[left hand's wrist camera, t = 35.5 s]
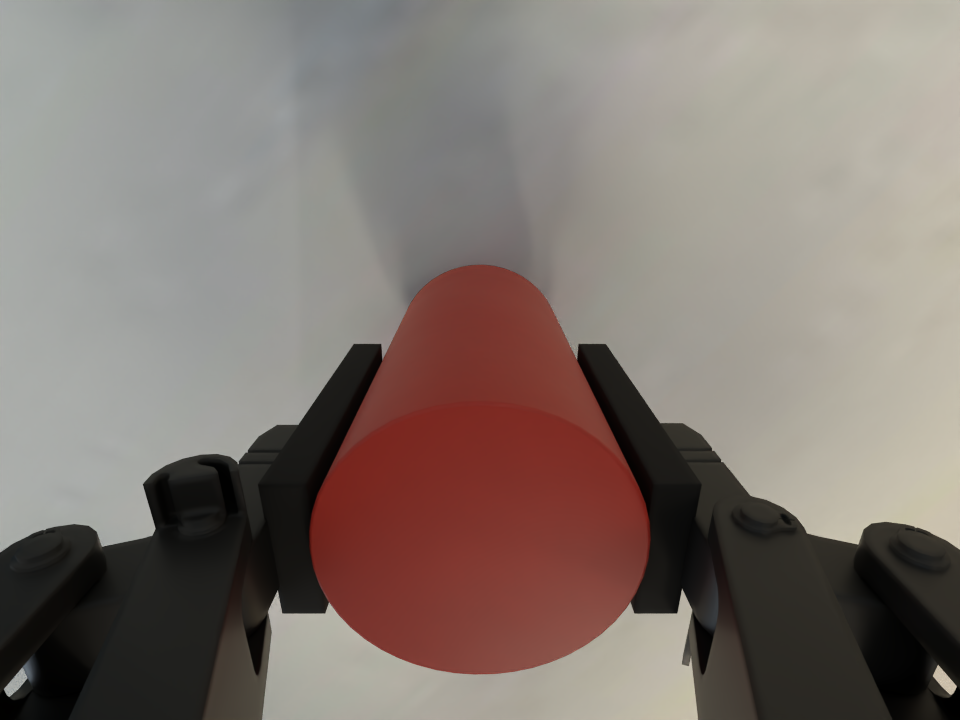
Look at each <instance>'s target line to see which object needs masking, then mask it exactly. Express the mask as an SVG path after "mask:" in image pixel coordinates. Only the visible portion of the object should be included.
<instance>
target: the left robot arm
mask: <svg viewBox="0 0 960 720" xmlns="http://www.w3.org/2000/svg"><path fill="white" fill-rule="evenodd" d="M577 361H578V363H579V366H580V368H581V370H582V372H583V374H584V376H585V378H586V380H587V382H588V384H589V386H590V388H591V390H592V392H593V394H594V396H595V398H596V400H597V402H598V404H599V406H600V408H601V410H602V413H603V415H604V417H605V419H606V421H607V423H608V425H609V427H610V429H611V431H612V433H613V435H614V437H615V439H616V441H617V443H618V445H619V447H620V449H621V451H622V453H623V455H624V457H625V460H626V462H627V464H628V466H629V468H630V470H631V472H632V474H633V476H634V478H635V480H636V482H637V484H638V486H639V489H640V491H641V494H642V496H643V499H644V501H645V504H646V508H647V512H648V517H649V521H650V539H651V541H650V549H649V558H648V562H647V566H646V569H645V573H644V577H643V579H642V581H641V583H640V585H639V588H638V590H637V592H636V594H635V595H634V597H633V598H632V600H631V605H632V607H633V610H634V613H677V612H678V607H679V601H680V596H681V591H682V589H683V591H684V593H685V595H686V597H687V599H688V602H689V604H690V606H691V608H692V615H691V620H690V624H689V629H688V634H687V639H686V644H685V649H684V654H683V660H682V664H683V665H687V666H689V662H690V658H691V659H692V668H693V677H694V685H695V694H696V703H697V712H698V720H960V550H959V549H958V548H956V547H955V546H953V545H952V544H950V543H949V542H948V541H946V540H944V539H942V538H939V537H937V536H935V535H933V534H931V533H930V532H928V531H926V530H923V529H920V528H915V527H914V526H909V525H905V524H897V523H890V522H881V523H873V524H871V525H869V526H868V527H866V528H865V529H864V530H863V533H862V536H861V539H860V542H859V545H857V544H852V543H847V542H842V541H838V540H833V539H828V538H823V537H818V536H814V535H810V534H807V533H806V531H805V528H804V527H803V526H802V524H801V523H800V522H799V520H798V519H797V518H796V517H795V516H794V515H792V514H791V513H790V512H788V511H787V510H785V509H784V508H783V507H780V506H778V505H776V504H774V503H772V502H769V501H767V500H764V499H760V498H756V497H752V496H750V495H749V494H748V492H747V491H746V490H745V489H744V487H743V486H742V485H741V484H740V482H739V481H738V480H737V479H736V477H735V476H734V475H733V474H732V473H731V471H730V470H729V469H728V468H727V466H726V465H725V464H724V463H723V462H721V459H720V458H719V456H718V455H717V454H716V453H715V451H712V448H711V446H710V445H709V444H708V443H707V442H706V440H705V439H704V438H703V437H702V435H701V434H699V433H697V432H696V431H694V430H693V429H691V428H689V427H688V426H686V425H685V424H683V423H660V422H659V421H658V420H657V418H656V417H655V415H654V414H653V412H652V411H651V409H650V408H649V406H648V405H647V404H646V402H645V401H644V399H643V398H642V396H641V395H640V393H639V392H638V390H637V389H636V387H635V386H634V385H633V383H632V382H631V380H630V379H629V377H628V376H627V374H626V373H625V371H624V370H623V369H622V367H621V366H620V364H619V363H618V361H617V360H616V358H615V357H614V355H613V354H612V352H611V351H610V350H609V348H608V347H607V345H606V344H578V358H577ZM381 363H382V349H381V344H354V345H353V346H352V348H351V349H350V351H349V352H348V353H347V355H346V356H345V358H344V359H343V361H342V362H341V364H340V365H339V367H338V368H337V369H336V371H335V372H334V374H333V375H332V377H331V378H330V380H329V381H328V383H327V384H326V385H325V387H324V388H323V390H322V391H321V393H320V394H319V396H318V397H317V399H316V400H315V402H314V403H313V404H312V406H311V407H310V409H309V410H308V412H307V413H306V415H305V416H304V418H303V419H302V420H301V422H300V423H299V425H276V426H275V427H273V428H272V429H270V430H268V431H267V432H265V433H264V434H262V435H261V436H259V437H258V438H257V439H256V441H255V442H254V443H253V444H252V446H251V447H250V448H249V449H248V453H245V454H244V456H243V457H242V458H241V459H240V461H239V464H237V462H236V461H235V460H233V459H232V458H231V457H229V456H224V455H219V454H209V455H198V456H193V457H189V458H184V459H181V460H179V461H176V462H174V463H171V464H169V465H166V466H164V467H163V468H161V469H160V470H158V471H156V472H155V473H153V474H152V475H151V476H150V477H149V478H148V479H147V480H146V481H145V482H144V484H143V486H144V490H145V493H146V497H147V500H148V504H149V507H150V510H151V514H152V517H153V521H154V524H155V528H156V529H155V532H154V534H153V536H150V537H147V538H143V539H138V540H133V541H128V542H124V543H119V544H114V545H109V546H104V547H102V546H101V543H100V540H99V537H98V535H97V532H96V531H95V530H93V529H92V528H91V527H89V526H85V525H76V524H73V525H65V526H58V527H53V528H48V529H46V530H42V531H39V532H36V533H33V534H31V535H30V536H28V537H26V538H24V539H22V540H20V541H18V542H16V543H14V544H12V545H11V546H9V547H8V548H6V549H5V550H3V551H2V552H1V553H0V720H262V714H263V705H264V696H265V687H266V678H267V669H268V660H269V651H270V642H271V633H272V632H271V625H270V620H269V615H268V610H269V608H270V606H271V603H272V601H273V599H274V597H275V595H276V593H277V591H278V593H279V598H280V603H281V608H282V613H325V612H326V609H327V606H328V604H329V601H328V600H327V598H326V596H325V594H324V592H323V591H322V589H321V587H320V585H319V582H318V580H317V577H316V574H315V571H314V569H313V564H312V559H311V554H310V543H309V528H310V521H311V514H312V510H313V507H314V504H315V500H316V497H317V494H318V492H319V490H320V488H321V486H322V484H323V482H324V480H325V478H326V476H327V474H328V472H329V470H330V468H331V465H332V463H333V461H334V459H335V457H336V455H337V453H338V451H339V449H340V447H341V445H342V443H343V441H344V439H345V437H346V435H347V433H348V431H349V428H350V426H351V424H352V422H353V420H354V418H355V416H356V414H357V412H358V410H359V408H360V406H361V404H362V402H363V400H364V398H365V396H366V394H367V392H368V389H369V387H370V385H371V383H372V381H373V379H374V377H375V375H376V373H377V371H378V369H379V367H380V365H381ZM938 665H939V666H940V667H941V668H942V669H943V671H944V672H945V673H946V674H947V675H948V676H949V678H950V679H951V680H952V681H953V682H954V683H955V684H956V686H957V688H956V690H955V692H954V693H953V694H952V695H950V694H949V693H948V692H947V691H945V690H944V689H943V688H942V687H941V685H940V684H939V683H938V682H937V681H936V680H935V678H934V677H933V674H934V672H935V670H936V668H937V666H938ZM22 667H23V669H24V671H25V673H26V675H27V677H28V679H27V680H26V681H25V682H24V683H23V685H22V686H21V687H20V688H19V689H18V690H17V691H16V692H15V693H14V694H13V695H11V696H10V697H8V696H7V695H6V693H5V691H4V688H5V687H6V686H7V685H8V683H9V682H10V681H11V680H12V679H13V678H14V676H15V675H16V674H17V673H18V672H19V671H20V669H21V668H22Z"/></svg>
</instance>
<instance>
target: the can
mask: <svg viewBox="0 0 960 720" xmlns="http://www.w3.org/2000/svg"><path fill="white" fill-rule="evenodd" d="M650 541H651V539H650V521H649V517H648V512H647V508H646V504H645V501H644V499H643V496H642V494H641V491H640V489H639V486H638V484H637V482H636V480H635V478H634V476H633V474H632V472H631V470H630V468H629V466H628V464H627V462H626V460H625V457H624V455H623V453H622V451H621V449H620V447H619V445H618V443H617V441H616V439H615V437H614V435H613V433H612V431H611V429H610V427H609V425H608V423H607V421H606V419H605V417H604V415H603V413H602V410H601V408H600V406H599V404H598V402H597V400H596V398H595V396H594V394H593V392H592V390H591V388H590V386H589V384H588V382H587V380H586V378H585V376H584V374H583V372H582V370H581V368H580V366H579V363H578V361H577V359H576V357H575V355H574V353H573V351H572V349H571V347H570V345H569V343H568V341H567V339H566V337H565V335H564V333H563V331H562V329H561V327H560V325H559V323H558V321H557V319H556V316H555V314H554V312H553V310H552V308H551V307H550V305H549V303H548V301H547V300H546V298H545V297H544V296H543V294H542V293H541V292H540V291H539V290H538V289H537V288H536V287H535V286H534V285H533V284H532V283H531V282H529V281H528V280H527V279H525V278H524V277H522V276H520V275H518V274H516V273H515V272H512V271H510V270H507V269H504V268H500V267H496V266H489V265H470V266H464V267H459V268H456V269H452V270H450V271H447V272H445V273H443V274H441V275H439V276H438V277H436V278H434V279H433V280H431V281H430V282H429V283H428V284H426V285H425V286H424V287H423V288H422V289H421V290H420V291H419V292H418V294H417V295H416V296H415V298H414V299H413V300H412V302H411V304H410V306H409V307H408V309H407V311H406V314H405V316H404V318H403V320H402V322H401V324H400V326H399V328H398V330H397V332H396V334H395V336H394V338H393V340H392V342H391V344H390V346H389V348H388V350H387V353H386V355H385V357H384V359H383V361H382V363H381V365H380V367H379V369H378V371H377V373H376V375H375V377H374V379H373V381H372V383H371V385H370V387H369V389H368V392H367V394H366V396H365V398H364V400H363V402H362V404H361V406H360V408H359V410H358V412H357V414H356V416H355V418H354V420H353V422H352V424H351V426H350V428H349V431H348V433H347V435H346V437H345V439H344V441H343V443H342V445H341V447H340V449H339V451H338V453H337V455H336V457H335V459H334V461H333V463H332V465H331V468H330V470H329V472H328V474H327V476H326V478H325V480H324V482H323V484H322V486H321V488H320V490H319V492H318V494H317V497H316V500H315V504H314V507H313V510H312V514H311V521H310V528H309V543H310V554H311V559H312V564H313V569H314V571H315V574H316V577H317V580H318V582H319V585H320V587H321V589H322V591H323V592H324V594H325V596H326V598H327V600H328V601H329V603H330V604H331V605H332V607H333V608H334V609H335V611H336V612H337V613H338V615H339V616H340V617H341V618H342V619H343V620H344V621H345V622H346V623H347V624H348V625H349V626H350V627H351V628H352V629H353V630H354V631H356V632H357V633H358V634H359V635H361V636H362V637H363V638H364V639H366V640H367V641H369V642H370V643H372V644H373V645H375V646H377V647H378V648H380V649H381V650H383V651H385V652H387V653H389V654H391V655H393V656H395V657H397V658H400V659H402V660H405V661H408V662H410V663H413V664H416V665H419V666H423V667H427V668H431V669H434V670H440V671H446V672H452V673H462V674H498V673H507V672H515V671H519V670H524V669H529V668H533V667H537V666H540V665H543V664H546V663H549V662H552V661H555V660H557V659H559V658H562V657H564V656H566V655H569V654H571V653H572V652H574V651H576V650H578V649H579V648H581V647H583V646H585V645H586V644H588V643H589V642H591V641H592V640H593V639H595V638H596V637H598V636H599V635H600V634H602V633H603V632H604V631H605V630H606V629H607V628H608V627H609V626H610V625H612V624H613V623H614V622H615V621H616V620H617V618H618V617H619V616H620V615H621V614H622V613H623V611H624V610H625V609H626V608H627V606H628V605H629V603H630V602H631V600H632V598H633V597H634V595H635V594H636V592H637V590H638V588H639V585H640V583H641V581H642V579H643V577H644V573H645V569H646V566H647V562H648V558H649V549H650Z"/></svg>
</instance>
